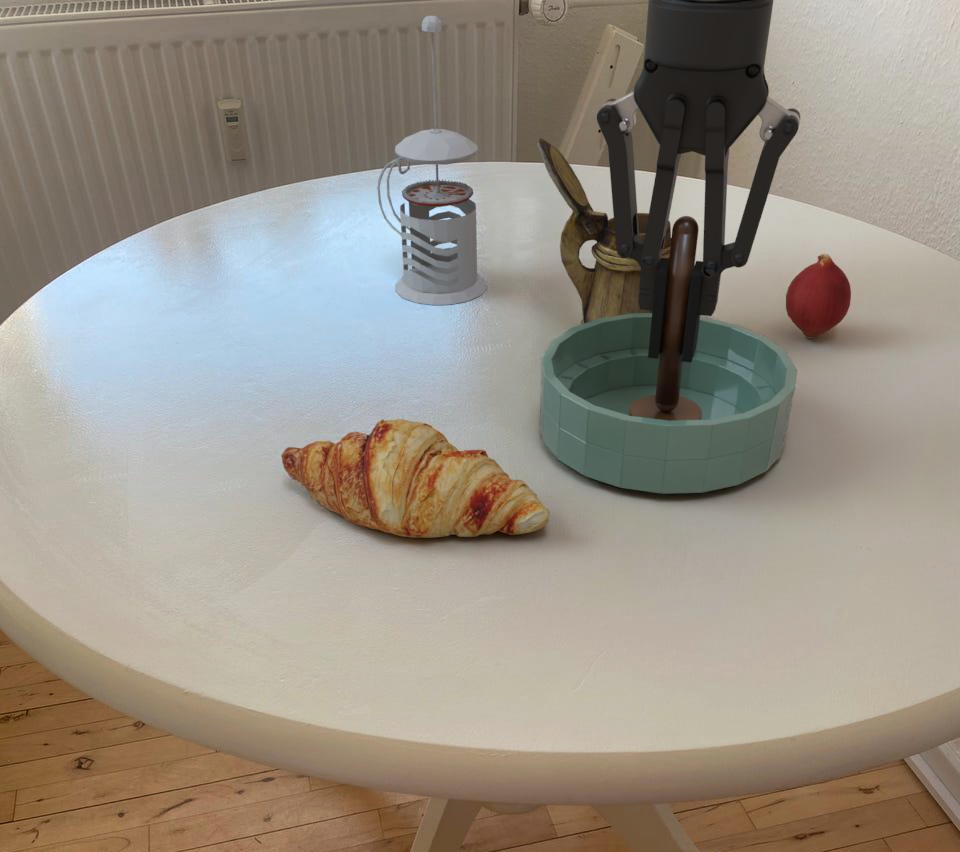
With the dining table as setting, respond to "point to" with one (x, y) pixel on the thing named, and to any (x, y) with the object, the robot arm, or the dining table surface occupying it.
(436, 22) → the french press
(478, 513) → the croissant
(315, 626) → the dining table surface
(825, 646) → the dining table surface
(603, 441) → the bowl
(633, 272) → the wooden mug
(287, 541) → the dining table surface
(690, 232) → the wooden paper towel stand
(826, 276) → the onion
